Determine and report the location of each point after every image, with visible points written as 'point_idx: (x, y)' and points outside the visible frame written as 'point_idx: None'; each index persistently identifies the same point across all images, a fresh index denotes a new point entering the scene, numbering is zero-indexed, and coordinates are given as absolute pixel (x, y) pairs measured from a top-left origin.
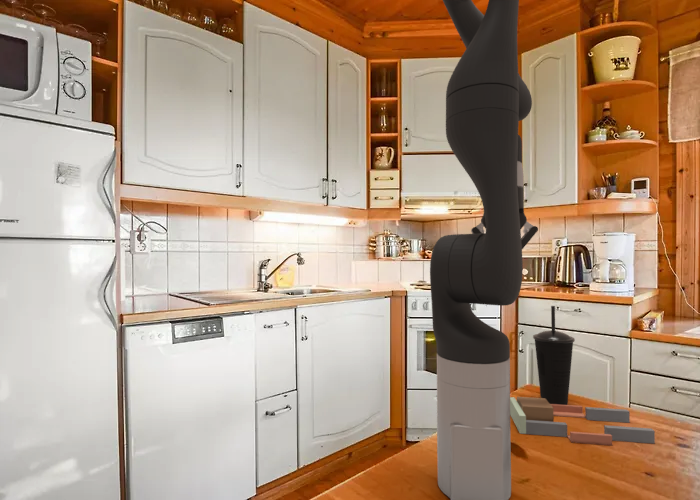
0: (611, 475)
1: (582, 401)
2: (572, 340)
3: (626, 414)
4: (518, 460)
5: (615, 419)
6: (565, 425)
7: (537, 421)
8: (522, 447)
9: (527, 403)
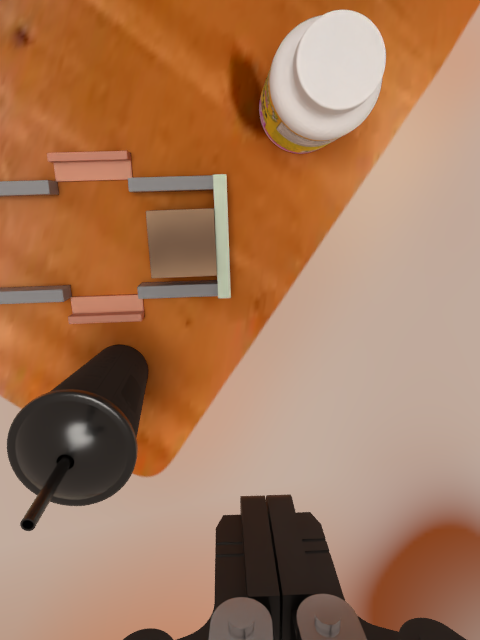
0: (91, 14)
1: None
2: (18, 413)
3: None
4: (250, 41)
5: (12, 288)
6: (131, 178)
7: (187, 184)
8: (232, 106)
9: (199, 230)
